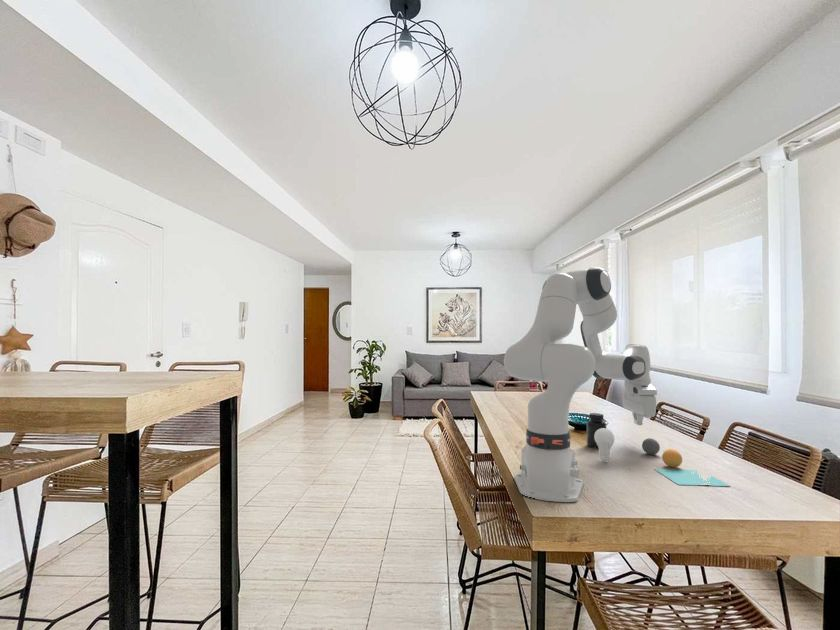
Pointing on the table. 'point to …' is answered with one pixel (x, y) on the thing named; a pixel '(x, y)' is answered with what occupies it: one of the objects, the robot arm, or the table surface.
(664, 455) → the orange ball
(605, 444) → the lightbulb
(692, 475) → the teal mark
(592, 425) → the supplement bottle
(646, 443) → the charcoal ball
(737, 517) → the table surface
